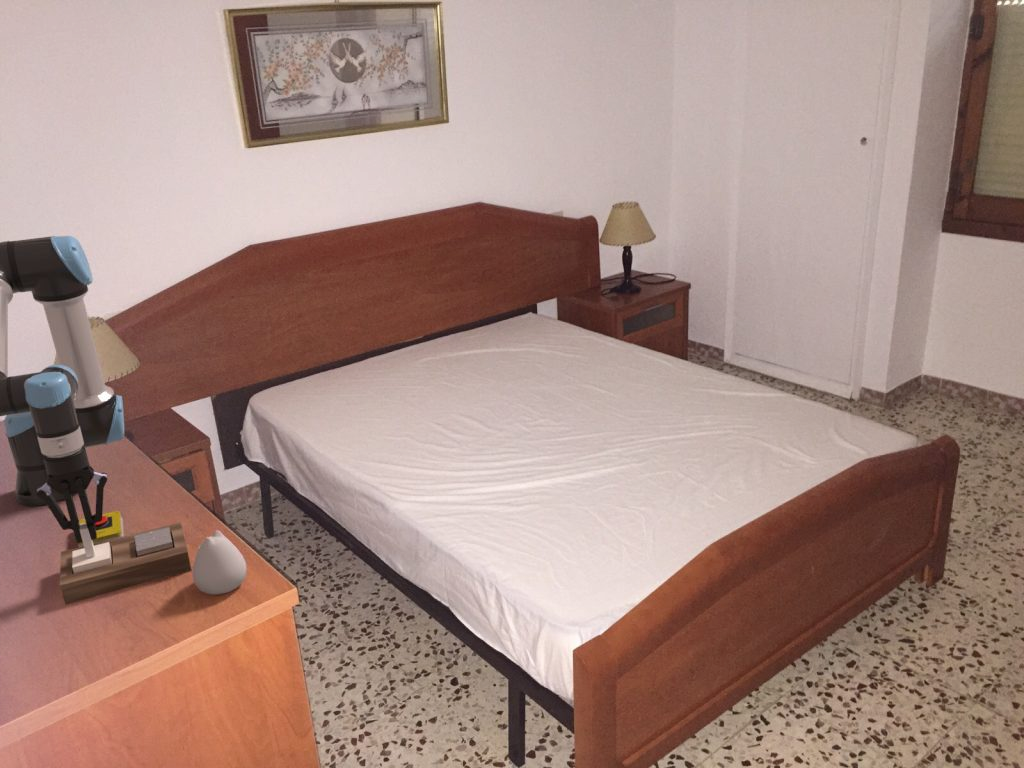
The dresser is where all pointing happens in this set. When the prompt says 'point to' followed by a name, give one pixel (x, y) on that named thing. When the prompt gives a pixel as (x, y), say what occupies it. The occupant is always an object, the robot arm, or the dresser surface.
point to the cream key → (92, 558)
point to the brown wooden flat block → (124, 567)
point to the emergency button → (107, 527)
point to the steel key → (153, 542)
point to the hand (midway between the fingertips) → (90, 553)
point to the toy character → (218, 565)
